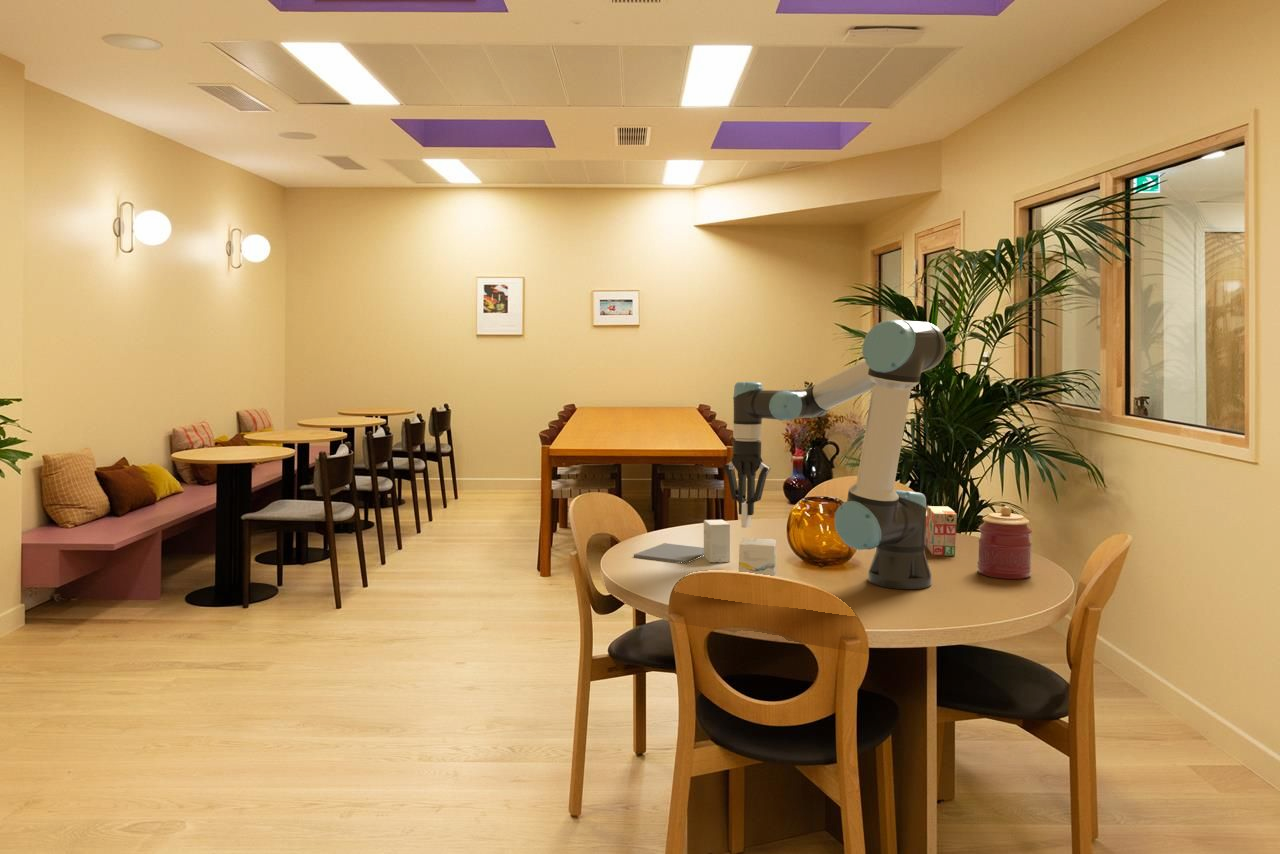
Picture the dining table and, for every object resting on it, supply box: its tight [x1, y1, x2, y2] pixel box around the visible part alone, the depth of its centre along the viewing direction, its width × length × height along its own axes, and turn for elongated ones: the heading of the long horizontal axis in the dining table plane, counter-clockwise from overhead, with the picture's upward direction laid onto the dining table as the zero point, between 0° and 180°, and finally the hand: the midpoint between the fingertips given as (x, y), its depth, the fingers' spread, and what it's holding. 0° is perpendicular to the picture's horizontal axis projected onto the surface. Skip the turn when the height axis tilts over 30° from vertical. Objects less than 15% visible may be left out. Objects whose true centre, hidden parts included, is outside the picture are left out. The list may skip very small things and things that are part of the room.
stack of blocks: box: [925, 505, 958, 557], centre depth 274 cm, size 21×6×12 cm, turn 172°
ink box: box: [738, 537, 777, 576], centre depth 225 cm, size 8×8×12 cm
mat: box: [633, 542, 704, 564], centre depth 263 cm, size 16×18×1 cm
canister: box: [976, 505, 1034, 580], centre depth 241 cm, size 13×13×18 cm
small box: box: [703, 519, 731, 563], centre depth 256 cm, size 8×6×10 cm
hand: (745, 526), depth 252 cm, fingers closed
